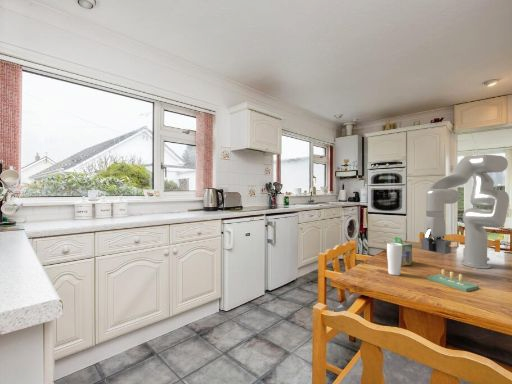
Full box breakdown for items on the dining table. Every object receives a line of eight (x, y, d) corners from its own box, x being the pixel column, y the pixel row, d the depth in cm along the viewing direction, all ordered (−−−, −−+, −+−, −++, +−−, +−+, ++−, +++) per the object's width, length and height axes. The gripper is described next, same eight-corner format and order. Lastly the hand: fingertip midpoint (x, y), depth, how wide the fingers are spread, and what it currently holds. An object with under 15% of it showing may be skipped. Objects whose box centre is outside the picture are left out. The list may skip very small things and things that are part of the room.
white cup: (400, 272, 131) (400, 243, 131) (403, 277, 124) (403, 245, 124) (385, 271, 133) (386, 242, 133) (387, 275, 127) (388, 244, 126)
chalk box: (412, 265, 144) (412, 238, 144) (398, 266, 142) (399, 239, 141) (399, 260, 153) (399, 235, 153) (386, 261, 151) (386, 236, 150)
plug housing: (427, 248, 138) (427, 236, 138) (460, 255, 124) (459, 242, 124) (421, 249, 136) (421, 237, 136) (454, 256, 122) (453, 243, 122)
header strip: (439, 276, 125) (439, 265, 125) (478, 288, 111) (478, 276, 111) (427, 279, 122) (427, 268, 122) (465, 291, 107) (466, 279, 107)
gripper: (438, 212, 138) (438, 246, 139) (416, 215, 131) (417, 250, 132) (453, 213, 131) (454, 249, 132) (431, 216, 124) (432, 254, 125)
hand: (435, 249), depth 132 cm, fingers closed on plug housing, 4 cm apart
